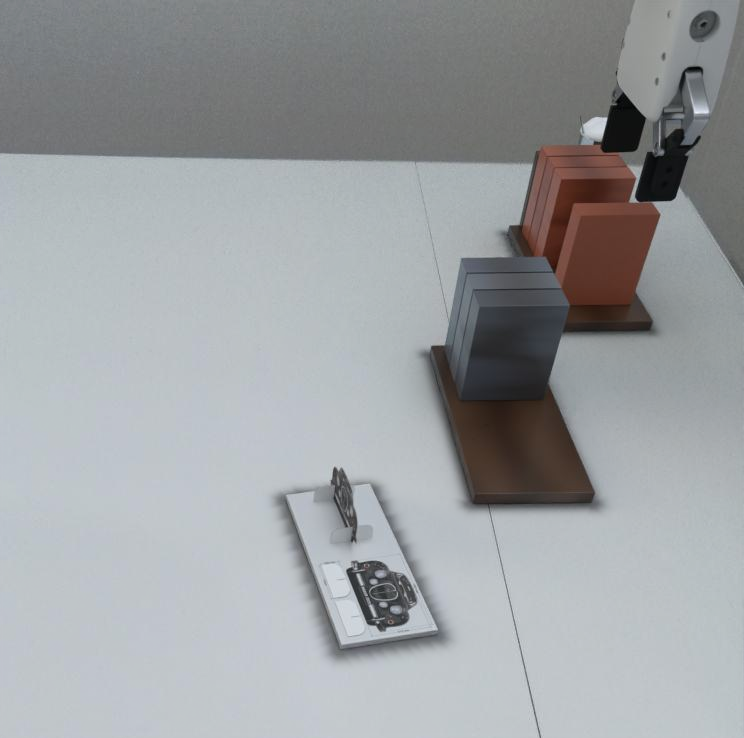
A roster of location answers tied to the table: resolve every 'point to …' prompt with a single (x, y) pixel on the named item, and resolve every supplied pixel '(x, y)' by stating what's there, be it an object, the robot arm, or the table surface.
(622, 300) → the terracotta book
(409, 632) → the car cutout
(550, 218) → the terracotta shelf
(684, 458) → the table surface
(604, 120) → the milkshake
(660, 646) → the table surface
